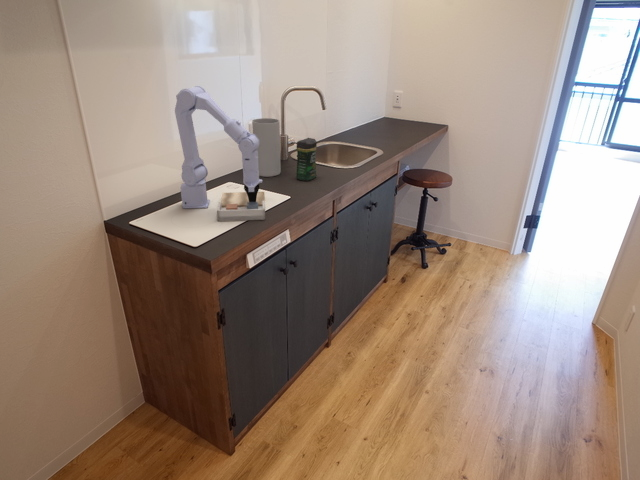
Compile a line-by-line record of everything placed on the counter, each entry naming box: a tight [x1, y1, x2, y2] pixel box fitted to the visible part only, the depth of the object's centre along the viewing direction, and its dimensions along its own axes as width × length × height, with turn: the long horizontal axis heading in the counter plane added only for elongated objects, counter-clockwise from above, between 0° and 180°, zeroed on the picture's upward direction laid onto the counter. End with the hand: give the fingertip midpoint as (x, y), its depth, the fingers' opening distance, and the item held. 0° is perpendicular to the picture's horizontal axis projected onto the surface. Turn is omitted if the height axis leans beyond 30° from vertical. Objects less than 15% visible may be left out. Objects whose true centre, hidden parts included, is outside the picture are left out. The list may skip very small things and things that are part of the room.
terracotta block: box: [226, 204, 238, 210], centre depth 154 cm, size 4×4×2 cm
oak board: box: [219, 191, 266, 207], centre depth 166 cm, size 17×14×2 cm
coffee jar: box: [295, 137, 318, 182], centre depth 193 cm, size 10×8×19 cm
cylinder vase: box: [251, 117, 282, 178], centre depth 197 cm, size 12×12×25 cm
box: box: [216, 200, 266, 222], centre depth 155 cm, size 17×9×4 cm, turn 97°
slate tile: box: [247, 202, 258, 209], centre depth 156 cm, size 4×4×2 cm
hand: (252, 203), depth 159 cm, fingers closed
